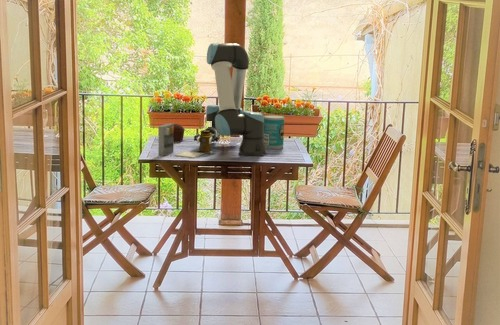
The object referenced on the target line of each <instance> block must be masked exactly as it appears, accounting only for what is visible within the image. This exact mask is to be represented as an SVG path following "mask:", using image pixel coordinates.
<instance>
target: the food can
mask: <svg viewBox="0 0 500 325" xmlns="http://www.w3.org/2000/svg"><path fill="white" fill-rule="evenodd" d="M263 116H264V136H263V141H264V144H265V148H266V149H271V150H278V149H282V148H284V139H285V138H284V135H285V116H283V115H279V114H278V115H277V114H269V115H263Z"/></svg>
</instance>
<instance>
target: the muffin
mask: <svg viewBox="0 0 500 325" xmlns="http://www.w3.org/2000/svg"><path fill="white" fill-rule="evenodd" d="M173 124H174V142H175V143H178V142H179V143H180V142H183V141H184V136H185V131H186V130H185V128H184V126H182V125H181V124H179V123H173Z"/></svg>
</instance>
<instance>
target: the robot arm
mask: <svg viewBox="0 0 500 325" xmlns="http://www.w3.org/2000/svg"><path fill="white" fill-rule="evenodd" d="M206 51H207V52H206V63H207V64H208V65H210V67H211V69H212V70H213V71H214V76H215V77H214V78H215V86H216V91H217V92H216V93H217V100H218V105H217V104H208V105H207V106H206V111H205V119H206V120H205V122H206V121H212V127H208V128H207V129H206V128H205V129H204V130H209V131H210V136H211V138H210V139H209V144H212V143H214V142H215V143H217V142H219V140H220V139H221V136H223V137H230V136H235V137H236V136H242V139H241V143H240V145H239V149H238V153H239V155H241V156H249V157H261V156H265V155H267V148H265V144H264V141H263V136H264V116H265V115H264V114H262V113H261V112H256V111H248V110H244V109H243V108H242V107H241V106H242V99H243V93H244V87H245V80H246V75H247V74H246V73H247V70H248V69H249V67H250V58H249V55H248V52H247V50H246V49H245V47H243V45H240V44H238V43H231V42H230V43H229V42H228V43H227V42H225V43H219V42H216V43H215V42H213V43H210V44H209V46H208V48H207V50H206ZM231 68H232V74H231ZM231 75H232V76H231ZM200 135H201V133H199V132H198V133H196V134H195V135H194V136H193V141H195V142H196V144H200Z"/></svg>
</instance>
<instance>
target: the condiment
mask: <svg viewBox="0 0 500 325" xmlns="http://www.w3.org/2000/svg"><path fill="white" fill-rule="evenodd" d="M210 138H211V136H210V131H209V130H205V129H203V130H200V142H199V150H196V151H194V152H195V153H203V154H202V155H204V154H209V153H214V151H211V149H212V146H211V144H212V143H211V144H209V139H210Z"/></svg>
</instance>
